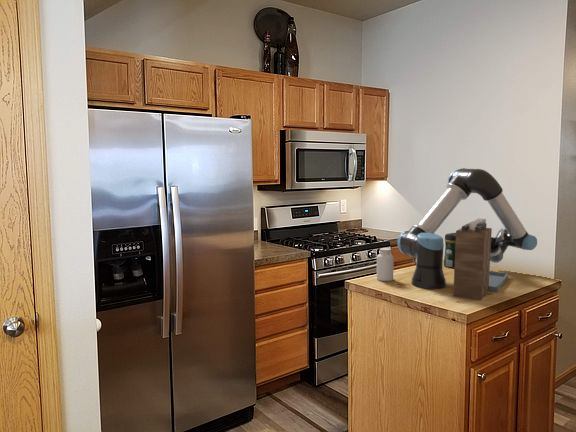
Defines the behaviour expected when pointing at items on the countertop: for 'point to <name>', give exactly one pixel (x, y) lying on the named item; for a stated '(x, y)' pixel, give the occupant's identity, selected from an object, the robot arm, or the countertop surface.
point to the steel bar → (476, 224)
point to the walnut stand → (472, 262)
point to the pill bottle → (385, 265)
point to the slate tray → (496, 280)
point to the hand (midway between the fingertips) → (485, 230)
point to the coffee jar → (450, 250)
